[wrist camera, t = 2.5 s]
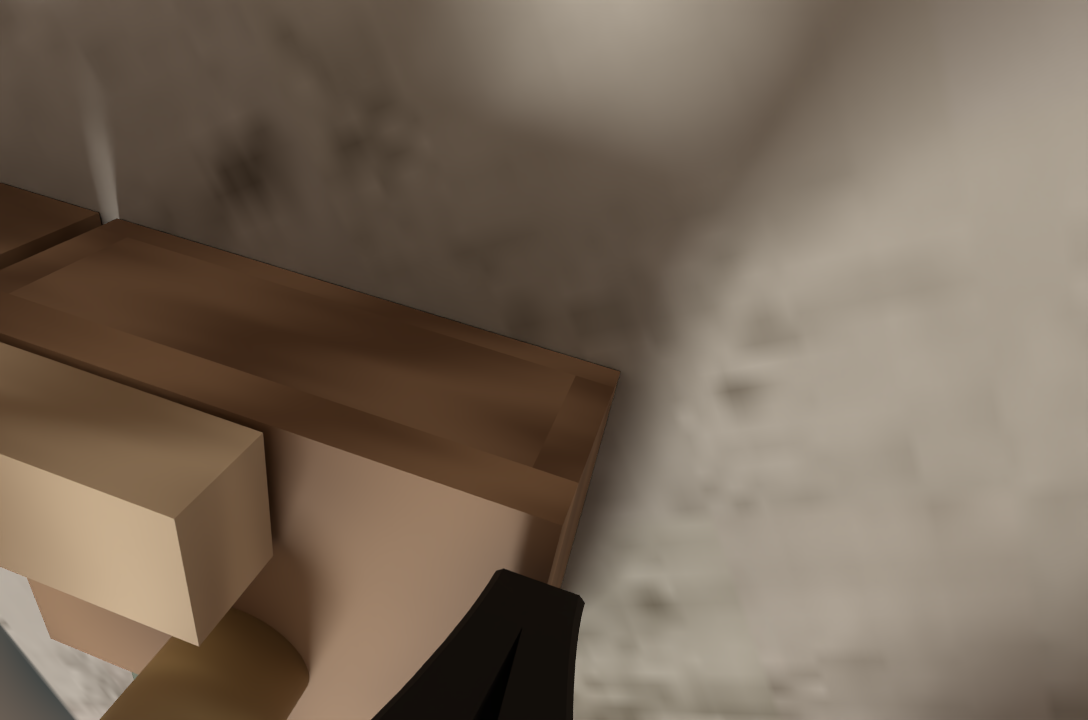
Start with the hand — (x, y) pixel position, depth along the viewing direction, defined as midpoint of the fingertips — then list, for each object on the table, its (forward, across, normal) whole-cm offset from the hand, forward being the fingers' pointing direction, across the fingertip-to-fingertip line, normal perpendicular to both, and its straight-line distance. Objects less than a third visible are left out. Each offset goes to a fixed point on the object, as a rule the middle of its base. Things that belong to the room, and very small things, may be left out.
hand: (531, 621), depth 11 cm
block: (0, +9, 0) cm, 9 cm away
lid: (+2, +6, +4) cm, 7 cm away
